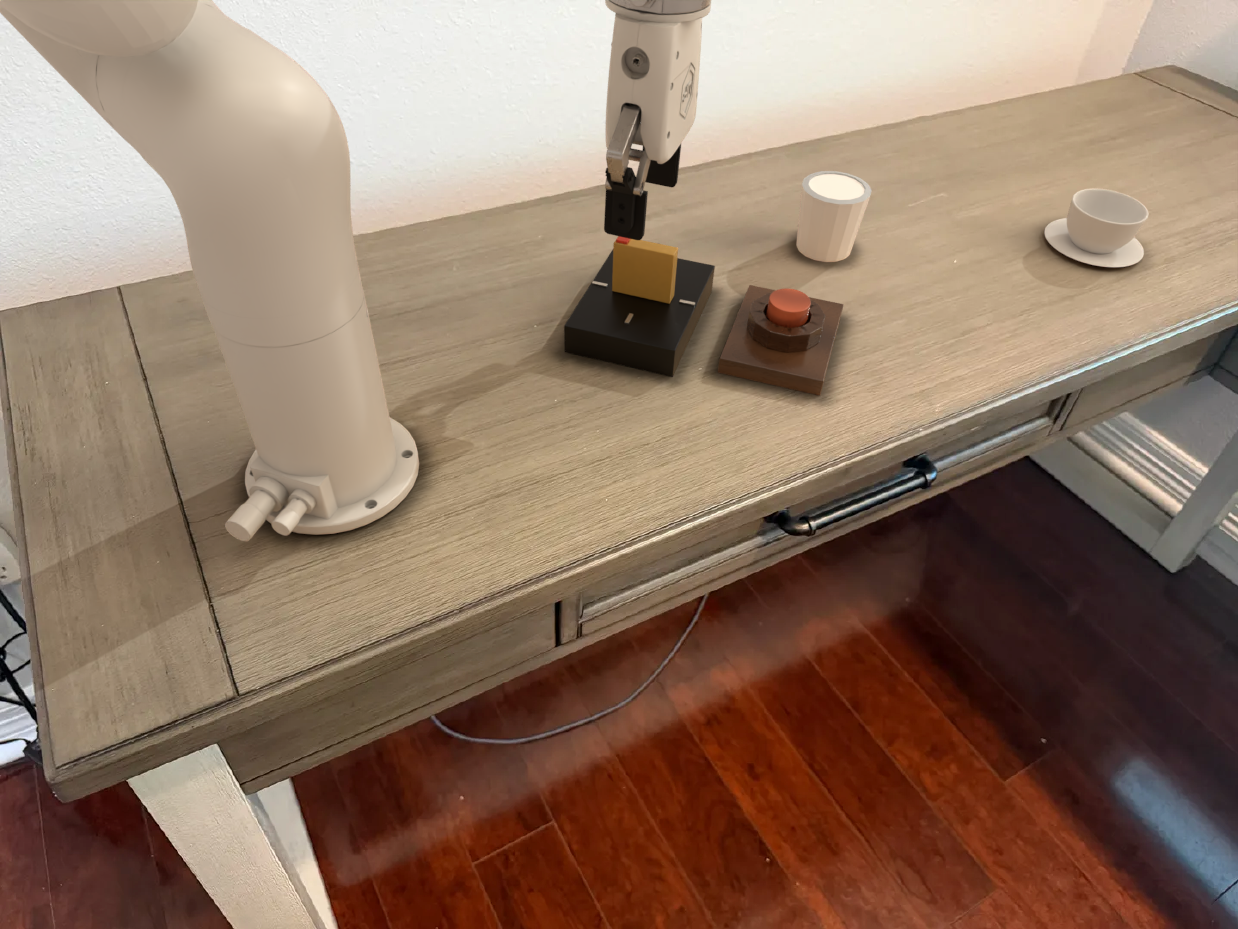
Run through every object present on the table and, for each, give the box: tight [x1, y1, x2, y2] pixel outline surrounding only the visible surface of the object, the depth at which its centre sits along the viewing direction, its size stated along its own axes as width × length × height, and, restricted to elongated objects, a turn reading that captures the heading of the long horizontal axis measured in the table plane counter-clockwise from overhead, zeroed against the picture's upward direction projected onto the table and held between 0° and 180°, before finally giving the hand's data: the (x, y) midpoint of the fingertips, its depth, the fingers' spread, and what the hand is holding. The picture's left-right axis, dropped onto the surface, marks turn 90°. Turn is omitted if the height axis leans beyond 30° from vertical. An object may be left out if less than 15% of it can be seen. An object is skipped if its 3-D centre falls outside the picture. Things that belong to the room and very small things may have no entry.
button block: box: [717, 284, 844, 396], centre depth 80 cm, size 12×9×4 cm
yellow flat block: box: [612, 236, 679, 304], centre depth 79 cm, size 6×1×5 cm, turn 71°
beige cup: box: [795, 170, 872, 263], centre depth 90 cm, size 7×7×7 cm
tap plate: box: [563, 249, 716, 378], centre depth 82 cm, size 14×10×3 cm
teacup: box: [1044, 187, 1149, 268], centre depth 93 cm, size 10×10×5 cm
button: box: [767, 287, 811, 328], centre depth 78 cm, size 4×4×2 cm
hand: (642, 208), depth 74 cm, fingers open, 9 cm apart
